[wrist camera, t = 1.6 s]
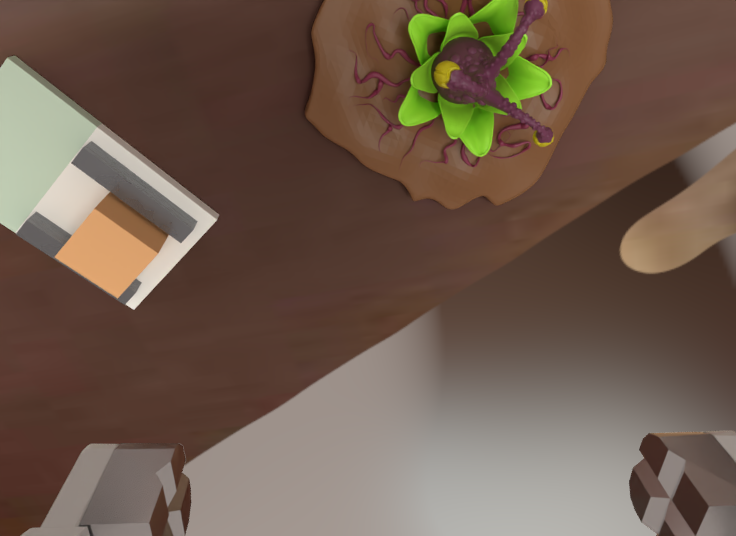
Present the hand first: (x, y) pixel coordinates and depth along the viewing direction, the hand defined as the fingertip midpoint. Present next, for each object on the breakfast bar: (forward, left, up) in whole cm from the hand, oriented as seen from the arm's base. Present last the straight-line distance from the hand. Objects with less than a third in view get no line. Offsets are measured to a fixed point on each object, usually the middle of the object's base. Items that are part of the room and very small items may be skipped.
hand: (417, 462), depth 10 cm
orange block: (-14, -14, -33) cm, 38 cm away
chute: (-22, -10, -34) cm, 41 cm away
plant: (+7, +4, -34) cm, 35 cm away
